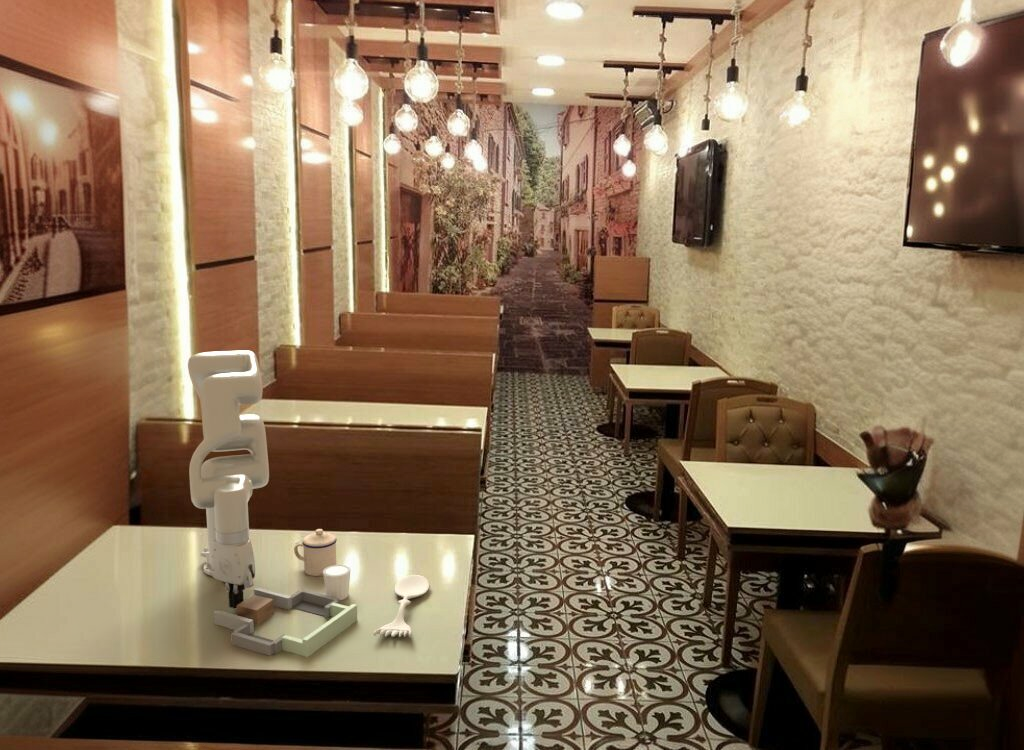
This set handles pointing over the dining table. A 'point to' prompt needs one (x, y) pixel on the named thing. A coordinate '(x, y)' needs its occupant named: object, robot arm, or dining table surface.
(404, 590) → the spoon
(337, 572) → the shot glass
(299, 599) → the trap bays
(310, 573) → the teacup with lid
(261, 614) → the walnut block
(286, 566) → the dining table surface
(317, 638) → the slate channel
